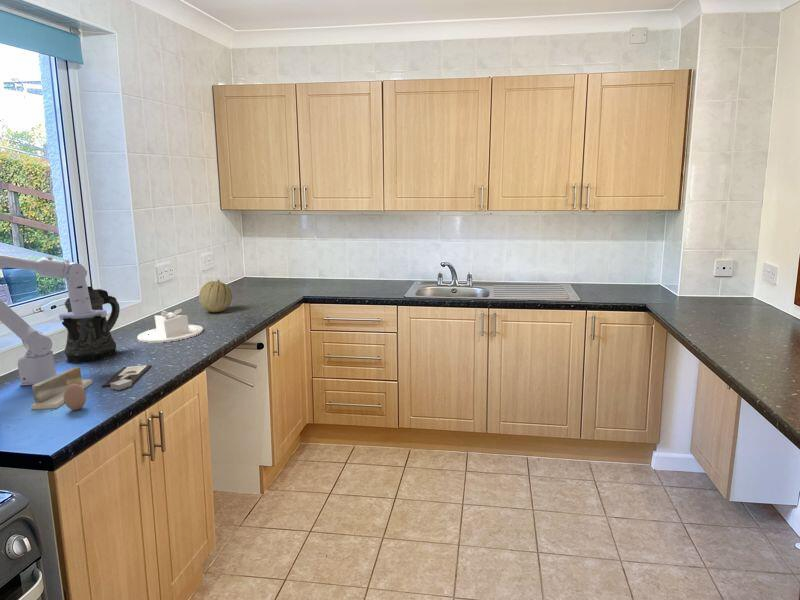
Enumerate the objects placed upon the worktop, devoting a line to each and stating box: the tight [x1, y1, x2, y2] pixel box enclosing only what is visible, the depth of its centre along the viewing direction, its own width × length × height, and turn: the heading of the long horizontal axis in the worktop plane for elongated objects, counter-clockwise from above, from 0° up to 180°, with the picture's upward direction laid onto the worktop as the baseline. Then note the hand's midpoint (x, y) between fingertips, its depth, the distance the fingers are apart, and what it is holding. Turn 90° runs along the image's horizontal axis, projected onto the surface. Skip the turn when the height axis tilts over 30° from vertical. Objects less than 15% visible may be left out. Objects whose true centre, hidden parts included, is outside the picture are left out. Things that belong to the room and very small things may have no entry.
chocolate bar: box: [101, 364, 152, 388], centre depth 185 cm, size 9×1×18 cm
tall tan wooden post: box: [31, 366, 83, 403], centre depth 169 cm, size 2×16×5 cm, turn 169°
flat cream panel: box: [30, 379, 93, 410], centre depth 170 cm, size 7×20×1 cm, turn 2°
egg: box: [64, 384, 87, 411], centre depth 158 cm, size 5×5×7 cm
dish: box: [136, 308, 204, 344], centre depth 234 cm, size 25×25×11 cm
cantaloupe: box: [198, 279, 233, 313], centre depth 272 cm, size 15×15×15 cm
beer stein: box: [64, 286, 121, 364], centre depth 209 cm, size 16×19×25 cm
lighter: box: [110, 374, 133, 391], centre depth 177 cm, size 7×2×8 cm
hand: (88, 339), depth 192 cm, fingers open, 7 cm apart
